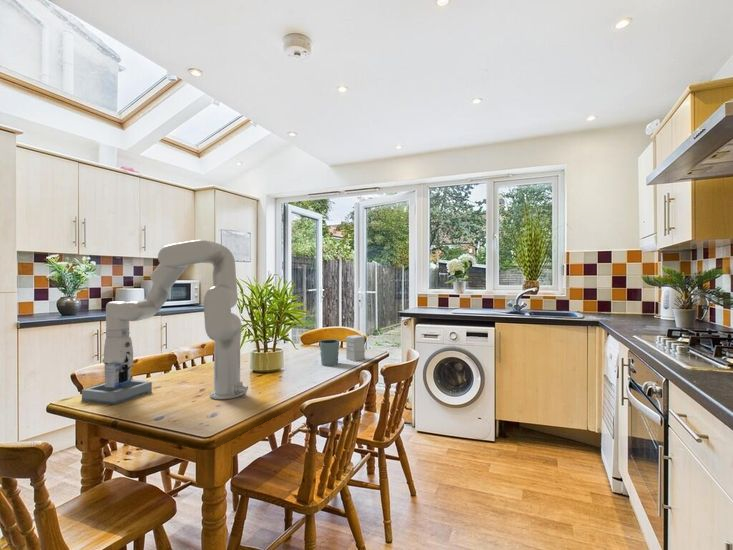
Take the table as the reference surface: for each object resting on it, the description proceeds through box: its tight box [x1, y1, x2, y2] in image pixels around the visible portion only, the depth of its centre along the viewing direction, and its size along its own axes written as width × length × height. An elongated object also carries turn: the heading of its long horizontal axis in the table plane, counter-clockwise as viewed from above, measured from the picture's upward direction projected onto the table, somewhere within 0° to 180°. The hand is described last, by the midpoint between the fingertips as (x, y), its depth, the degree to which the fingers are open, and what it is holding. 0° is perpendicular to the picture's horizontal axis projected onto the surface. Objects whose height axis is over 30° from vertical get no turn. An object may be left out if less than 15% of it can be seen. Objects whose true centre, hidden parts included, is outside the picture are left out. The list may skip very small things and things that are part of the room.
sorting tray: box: [81, 379, 153, 406], centre depth 148 cm, size 16×16×4 cm
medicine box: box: [104, 363, 132, 388], centre depth 148 cm, size 8×4×9 cm, turn 168°
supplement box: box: [345, 334, 366, 362], centre depth 211 cm, size 7×7×13 cm
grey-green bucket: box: [319, 339, 340, 367], centre depth 199 cm, size 10×10×12 cm
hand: (117, 380), depth 148 cm, fingers closed on medicine box, 4 cm apart
